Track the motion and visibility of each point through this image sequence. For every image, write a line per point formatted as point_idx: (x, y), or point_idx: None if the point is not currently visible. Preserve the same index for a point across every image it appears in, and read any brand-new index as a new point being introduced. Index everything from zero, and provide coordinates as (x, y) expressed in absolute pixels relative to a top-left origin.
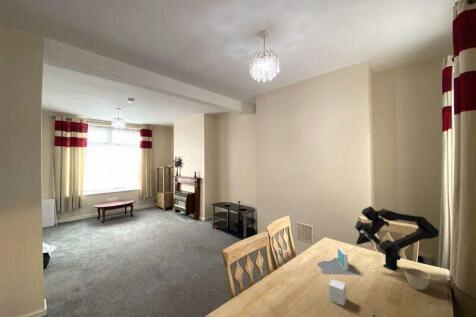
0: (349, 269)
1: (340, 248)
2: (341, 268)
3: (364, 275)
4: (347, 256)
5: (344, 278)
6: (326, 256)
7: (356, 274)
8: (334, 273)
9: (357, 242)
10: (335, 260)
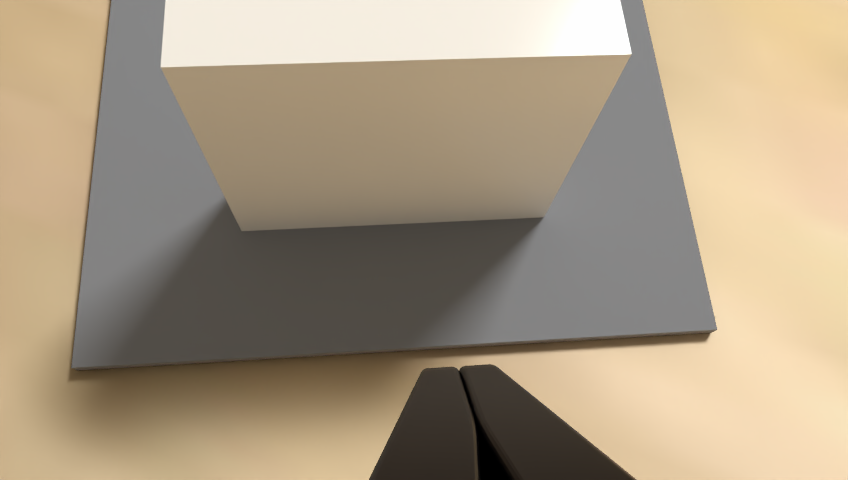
0: (258, 259)
1: (551, 30)
2: None
3: (77, 460)
4: (174, 94)
5: (9, 102)
6: (718, 60)
7: (86, 314)
8: (130, 3)
9: (412, 399)
10: None
